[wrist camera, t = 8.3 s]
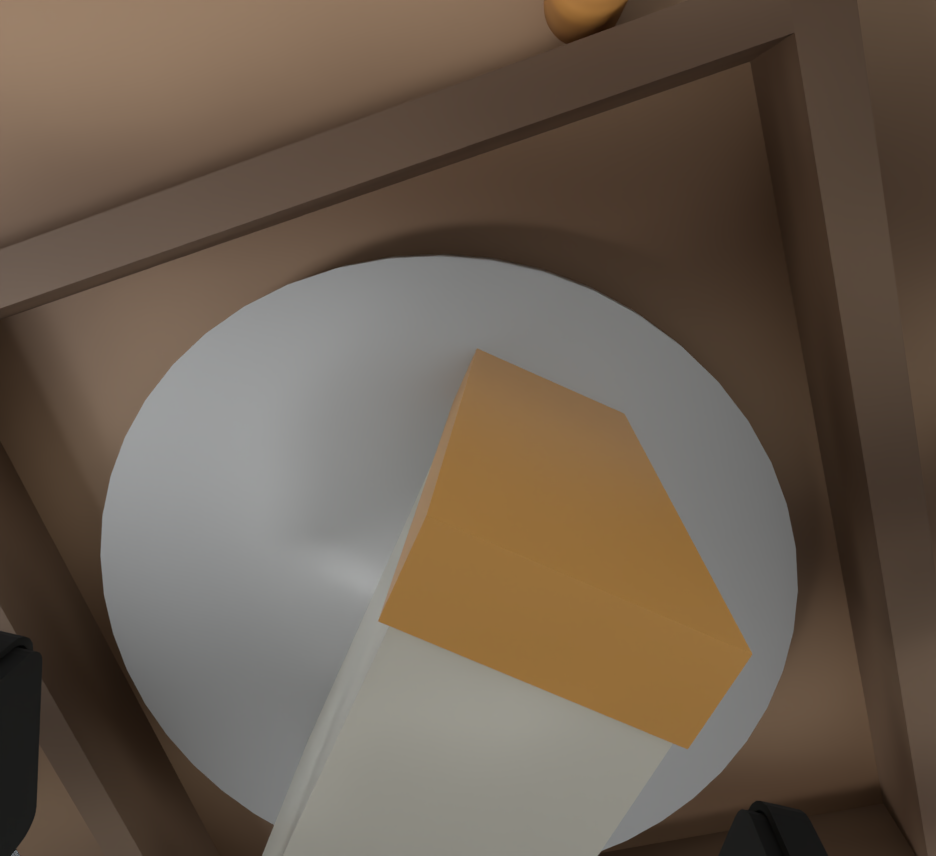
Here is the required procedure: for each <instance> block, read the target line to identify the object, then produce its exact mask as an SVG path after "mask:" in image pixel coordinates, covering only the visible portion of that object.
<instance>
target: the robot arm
mask: <svg viewBox="0 0 936 856" xmlns="http://www.w3.org/2000/svg"><path fill="white" fill-rule="evenodd" d="M41 685H42V655H41V654H40V652H37V651H33V643H32V641H31V639H30V638H28V637H25V636H21V635H17V634H12V633H8V632H3V631H0V856H11V855H12V853H13V852H14V851H15V850H16V848H17V847H18V846H19V845H20V843H21V842H22V840H23V839H24V838H25V836H26V834H27V833H28V831H29V829H30V827H31V824H32V822H33V820H34V816H35V813H36V807H37V783H38V759H39V734H40V709H41ZM718 856H828V854H827V852H826V850H825V848H824V846H823V844H822V842H821V840H820V838H819V836H818V834H817V832H816V831H815V829H814V827H813V825H812V823H811V821H810V819H809V818H808V816H807V815H806V813H804V812H803V811H801V810H799V809H795V808H791V807H786V806H782V805H777V804H773V803H768V802H764V801H755V802H754V803H752V804H751V806H750V808H749V809H748V810H744V809H741V810H740V811H738V813H737V814H736V816H735V818H734V820H733V823H732V825H731V827H730V830H729V832H728V834H727V836H726V839H725V841H724V843H723V846H722V848H721V850H720V853H719V855H718Z"/></svg>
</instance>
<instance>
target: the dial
mask: <svg viewBox="0 0 936 856" xmlns="http://www.w3.org/2000/svg"><path fill="white" fill-rule="evenodd" d="M100 557H101V568H102V579H103V590H104V597H105V601H106V606H107V610H108V614H109V618H110V623H111V627H112V631H113V635H114V637H115V640H116V642H117V645H118V648H119V650H120V653H121V656H122V658H123V661H124V664H125V666H126V669H127V671H128V673H129V675H130V676H131V678H132V680H133V682H134V684H135V686H136V688H137V690H138V691H139V693H140V695H141V697H142V699H143V701H144V703H145V704H146V706H147V707H148V709H149V710H150V711H151V713H152V714H153V716H154V717H155V719H156V720H157V721H158V723H159V724H160V726H161V727H162V729H163V730H164V731H165V733H166V734H167V736H168V737H169V738H170V739H171V740H172V741H173V742H174V744H175V745H176V746H177V747H178V748H179V749H180V750H181V751H182V753H183V754H184V755H185V756H186V757H187V758H188V759H189V760H190V762H191V763H192V764H193V765H194V766H195V767H197V768H198V769H199V770H200V771H201V772H202V773H203V774H204V775H205V776H207V777H208V778H209V779H210V780H211V781H212V782H213V783H214V784H215V785H216V786H218V787H219V788H220V789H221V790H222V791H223V792H225V793H226V794H228V795H229V796H230V797H232V798H233V799H235V800H236V801H237V802H239V803H240V804H241V805H243V806H244V807H246V808H247V809H248V810H250V811H251V812H252V813H254V814H256V815H257V816H259V817H261V818H263V819H264V820H266V821H268V822H270V823H271V824H273V825H274V827H273V829H272V832H271V834H270V837H269V839H268V842H267V844H266V847H265V849H264V852H263V854H262V856H598V855H599V853H600V852H601V851H603V850H605V849H607V848H610V847H612V846H615V845H617V844H620V843H622V842H624V841H627V840H629V839H631V838H632V837H634V836H636V835H638V834H640V833H641V832H643V831H645V830H647V829H649V828H650V827H652V826H654V825H656V824H658V823H659V822H661V821H663V820H664V819H665V818H667V817H668V816H670V815H671V814H672V813H674V812H675V811H677V810H678V809H679V808H681V807H682V806H683V805H685V804H686V803H688V802H689V801H690V800H692V799H693V798H694V797H695V796H696V795H697V794H698V793H700V792H701V791H702V790H703V789H704V788H705V787H706V786H707V785H708V784H709V783H710V782H711V781H712V780H713V779H715V778H716V777H717V776H718V775H719V774H720V773H721V772H722V771H723V770H724V768H725V767H726V766H727V765H728V763H729V762H730V761H731V760H732V759H733V757H734V756H735V755H736V754H737V753H738V751H739V750H740V749H741V748H742V746H743V745H744V744H745V743H746V742H747V740H748V738H749V737H750V735H751V733H752V732H753V730H754V729H755V727H756V725H757V724H758V722H759V720H760V719H761V717H762V715H763V714H764V712H765V711H766V709H767V707H768V705H769V703H770V700H771V698H772V696H773V693H774V691H775V689H776V686H777V684H778V682H779V679H780V677H781V675H782V672H783V669H784V666H785V662H786V658H787V654H788V650H789V647H790V643H791V639H792V635H793V631H794V622H795V612H796V603H797V594H798V584H797V563H796V546H795V542H794V537H793V532H792V527H791V522H790V517H789V512H788V507H787V504H786V501H785V498H784V495H783V493H782V490H781V487H780V485H779V482H778V479H777V477H776V474H775V471H774V468H773V466H772V463H771V461H770V459H769V457H768V456H767V454H766V452H765V450H764V448H763V447H762V445H761V443H760V441H759V439H758V438H757V436H756V434H755V432H754V430H753V429H752V427H751V425H750V423H749V421H748V420H747V419H746V417H745V416H744V415H743V413H742V412H741V411H740V409H739V408H738V407H737V406H736V404H735V403H734V402H733V400H732V399H731V398H730V396H729V395H728V394H727V393H726V391H725V390H724V389H723V387H722V386H721V385H720V383H719V382H718V381H717V380H716V379H715V378H714V377H713V376H712V375H711V374H710V373H709V372H708V371H707V370H706V369H705V368H703V367H702V366H701V365H700V364H699V363H698V362H697V361H696V360H695V359H694V358H693V357H692V356H691V355H690V354H689V353H688V352H687V351H686V350H685V349H684V348H683V347H682V346H681V345H679V344H678V343H677V342H676V341H674V340H673V339H672V338H671V337H669V336H668V335H666V334H665V333H664V332H662V331H661V330H660V329H658V328H657V327H656V326H654V325H653V324H651V323H650V322H649V321H647V320H646V319H645V318H643V317H642V316H641V315H639V314H638V313H636V312H635V311H634V310H632V309H630V308H628V307H626V306H625V305H623V304H621V303H619V302H617V301H615V300H613V299H612V298H610V297H608V296H606V295H604V294H602V293H600V292H599V291H597V290H595V289H593V288H591V287H589V286H586V285H584V284H581V283H578V282H576V281H573V280H570V279H568V278H565V277H562V276H560V275H557V274H554V273H552V272H549V271H546V270H544V269H540V268H535V267H531V266H527V265H522V264H518V263H513V262H509V261H505V260H500V259H496V258H487V257H476V256H464V255H453V254H428V255H407V256H393V257H387V258H382V259H377V260H371V261H366V262H360V263H355V264H350V265H346V266H342V267H339V268H336V269H333V270H330V271H327V272H324V273H321V274H318V275H315V276H312V277H309V278H306V279H303V280H300V281H297V282H294V283H291V284H288V285H286V286H284V287H282V288H280V289H278V290H276V291H274V292H272V293H270V294H268V295H266V296H264V297H262V298H260V299H258V300H256V301H254V302H252V303H250V304H248V305H246V306H244V307H243V308H241V309H240V310H238V311H237V312H236V313H234V314H233V315H231V316H230V317H228V318H227V319H226V320H224V321H223V322H221V323H220V324H218V325H217V326H216V327H214V328H213V329H211V330H210V331H209V332H207V333H206V334H205V335H204V336H202V337H201V338H200V339H199V340H198V341H197V342H196V343H195V344H194V345H193V346H192V347H191V348H190V349H189V350H188V351H187V352H186V353H185V354H184V355H183V356H181V357H180V358H179V359H178V360H177V361H176V362H175V363H174V364H173V365H172V366H171V368H170V369H169V370H168V372H167V373H166V374H165V375H164V377H163V378H162V379H161V381H160V382H159V383H158V384H157V386H156V387H155V388H154V390H153V391H152V392H151V393H150V395H149V396H148V397H147V399H146V400H145V402H144V404H143V405H142V407H141V409H140V411H139V413H138V414H137V416H136V418H135V420H134V422H133V423H132V425H131V427H130V429H129V431H128V433H127V434H126V436H125V438H124V441H123V444H122V446H121V449H120V452H119V455H118V457H117V460H116V463H115V465H114V468H113V471H112V474H111V477H110V481H109V486H108V491H107V496H106V501H105V506H104V511H103V516H102V535H101V554H100Z"/></svg>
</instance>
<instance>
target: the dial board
mask: <svg viewBox="0 0 936 856" xmlns="http://www.w3.org/2000/svg"><path fill="white" fill-rule="evenodd" d="M428 254H453V255H464V256H476V257H487V258H496V259H500V260H505V261H509V262H513V263H518V264H522V265H527V266H531V267H535V268H540V269H544V270H546V271H549V272H552V273H554V274H557V275H560V276H562V277H565V278H568V279H570V280H573V281H576V282H578V283H581V284H584V285H586V286H589V287H591V288H593V289H595V290H597V291H599V292H600V293H602V294H604V295H606V296H608V297H610V298H612V299H613V300H615V301H617V302H619V303H621V304H623V305H625V306H626V307H628V308H630V309H632V310H634V311H635V312H636V313H638V314H639V315H641V316H642V317H643V318H645V319H646V320H647V321H649V322H650V323H651V324H653V325H654V326H656V327H657V328H658V329H660V330H661V331H662V332H664V333H665V334H666V335H668V336H669V337H671V338H672V339H673V340H674V341H676V342H677V343H678V344H679V345H681V346H682V347H683V348H684V349H685V350H686V351H687V352H688V353H689V354H690V355H691V356H692V357H693V358H694V359H695V360H696V361H697V362H698V363H699V364H700V365H701V366H702V367H703V368H705V369H706V370H707V371H708V372H709V373H710V374H711V375H712V376H713V377H714V378H715V379H716V380H717V381H718V382H719V383H720V385H721V386H722V387H723V389H724V390H725V391H726V393H727V394H728V395H729V396H730V398H731V399H732V400H733V402H734V403H735V404H736V406H737V407H738V408H739V409H740V411H741V412H742V413H743V415H744V416H745V417H746V419H747V420H748V421H749V423H750V425H751V427H752V429H753V430H754V432H755V434H756V436H757V438H758V439H759V441H760V443H761V445H762V447H763V448H764V450H765V452H766V454H767V456H768V457H769V459H770V461H771V463H772V466H773V468H774V471H775V474H776V477H777V479H778V482H779V485H780V487H781V490H782V493H783V495H784V498H785V501H786V504H787V507H788V512H789V517H790V522H791V527H792V532H793V537H794V542H795V546H796V563H797V584H798V594H797V603H796V612H795V622H794V631H793V635H792V639H791V643H790V647H789V650H788V654H787V658H786V662H785V666H784V669H783V672H782V675H781V677H780V679H779V682H778V684H777V686H776V689H775V691H774V693H773V696H772V698H771V700H770V703H769V705H768V707H767V709H766V711H765V712H764V714H763V715H762V717H761V719H760V720H759V722H758V724H757V725H756V727H755V729H754V730H753V732H752V733H751V735H750V737H749V738H748V740H747V742H746V743H745V744H744V745H743V746H742V748H741V749H740V750H739V751H738V753H737V754H736V755H735V756H734V757H733V759H732V760H731V761H730V762H729V763H728V765H727V766H726V767H725V768H724V770H723V771H722V772H721V773H720V774H719V775H718V776H717V777H716V778H715V779H713V780H712V781H711V782H710V783H709V784H708V785H707V786H706V787H705V788H704V789H703V790H702V791H701V792H700V793H698V794H697V795H696V796H695V797H694V798H693V799H692V800H690V801H689V802H688V803H686V804H685V805H683V806H682V807H681V808H679V809H678V810H677V811H675V812H674V813H672V814H671V815H670V816H668V817H667V818H665V819H664V820H663V821H661V822H659V823H658V824H656V825H654V826H652V827H650V828H649V829H647V830H645V831H643V832H641V833H640V834H638V835H636V836H634V837H632V838H631V839H629V840H627V841H624V842H622V843H620V844H617V845H615V846H612V847H610V848H607V849H605V850H603V851H601V852H600V853H599V855H598V856H718V855H719V853H720V850H721V848H722V846H723V843H724V841H725V839H726V836H727V834H728V832H729V830H730V827H731V825H732V823H733V820H734V818H735V816H736V814H737V813H738V811H740V810H741V809H744V810H748V809H749V808H750V806H751V804H752V803H754V802H755V801H764V802H768V803H773V804H777V805H782V806H786V807H791V808H795V809H799V810H801V811H803V812H804V813H806V815H807V816H808V818H809V819H810V821H811V823H812V825H813V827H814V829H815V831H816V832H817V834H818V836H819V838H820V840H821V842H822V844H823V846H824V848H825V850H826V852H827V854H828V856H936V0H0V631H3V632H8V633H12V634H17V635H21V636H25V637H28V638H30V639H31V641H32V643H33V651H37V652H40V654H41V655H42V685H41V709H40V734H39V759H38V783H37V807H36V813H35V816H34V820H33V822H32V824H31V827H30V829H29V831H28V833H27V834H26V836H25V838H24V839H23V840H22V842H21V843H20V845H19V846H18V847H17V848H16V850H17V851H18V853H19V855H20V856H262V854H263V852H264V849H265V847H266V844H267V842H268V839H269V837H270V834H271V832H272V829H273V827H274V825H273V824H271V823H270V822H268V821H266V820H264V819H263V818H261V817H259V816H257V815H256V814H254V813H252V812H251V811H250V810H248V809H247V808H246V807H244V806H243V805H241V804H240V803H239V802H237V801H236V800H235V799H233V798H232V797H230V796H229V795H228V794H226V793H225V792H223V791H222V790H221V789H220V788H219V787H218V786H216V785H215V784H214V783H213V782H212V781H211V780H210V779H209V778H208V777H207V776H205V775H204V774H203V773H202V772H201V771H200V770H199V769H198V768H197V767H195V766H194V765H193V764H192V763H191V762H190V760H189V759H188V758H187V757H186V756H185V755H184V754H183V753H182V751H181V750H180V749H179V748H178V747H177V746H176V745H175V744H174V742H173V741H172V740H171V739H170V738H169V737H168V736H167V734H166V733H165V731H164V730H163V729H162V727H161V726H160V724H159V723H158V721H157V720H156V719H155V717H154V716H153V714H152V713H151V711H150V710H149V709H148V707H147V706H146V704H145V703H144V701H143V699H142V697H141V695H140V693H139V691H138V690H137V688H136V686H135V684H134V682H133V680H132V678H131V676H130V675H129V673H128V671H127V669H126V666H125V664H124V661H123V658H122V656H121V653H120V650H119V648H118V645H117V642H116V640H115V637H114V635H113V631H112V627H111V623H110V618H109V614H108V610H107V606H106V601H105V597H104V590H103V579H102V568H101V557H100V554H101V535H102V516H103V511H104V506H105V501H106V496H107V491H108V486H109V481H110V477H111V474H112V471H113V468H114V465H115V463H116V460H117V457H118V455H119V452H120V449H121V446H122V444H123V441H124V438H125V436H126V434H127V433H128V431H129V429H130V427H131V425H132V423H133V422H134V420H135V418H136V416H137V414H138V413H139V411H140V409H141V407H142V405H143V404H144V402H145V400H146V399H147V397H148V396H149V395H150V393H151V392H152V391H153V390H154V388H155V387H156V386H157V384H158V383H159V382H160V381H161V379H162V378H163V377H164V375H165V374H166V373H167V372H168V370H169V369H170V368H171V366H172V365H173V364H174V363H175V362H176V361H177V360H178V359H179V358H180V357H181V356H183V355H184V354H185V353H186V352H187V351H188V350H189V349H190V348H191V347H192V346H193V345H194V344H195V343H196V342H197V341H198V340H199V339H200V338H201V337H202V336H204V335H205V334H206V333H207V332H209V331H210V330H211V329H213V328H214V327H216V326H217V325H218V324H220V323H221V322H223V321H224V320H226V319H227V318H228V317H230V316H231V315H233V314H234V313H236V312H237V311H238V310H240V309H241V308H243V307H244V306H246V305H248V304H250V303H252V302H254V301H256V300H258V299H260V298H262V297H264V296H266V295H268V294H270V293H272V292H274V291H276V290H278V289H280V288H282V287H284V286H286V285H288V284H291V283H294V282H297V281H300V280H303V279H306V278H309V277H312V276H315V275H318V274H321V273H324V272H327V271H330V270H333V269H336V268H339V267H342V266H346V265H350V264H355V263H360V262H366V261H371V260H377V259H382V258H387V257H393V256H407V255H428Z"/></svg>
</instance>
